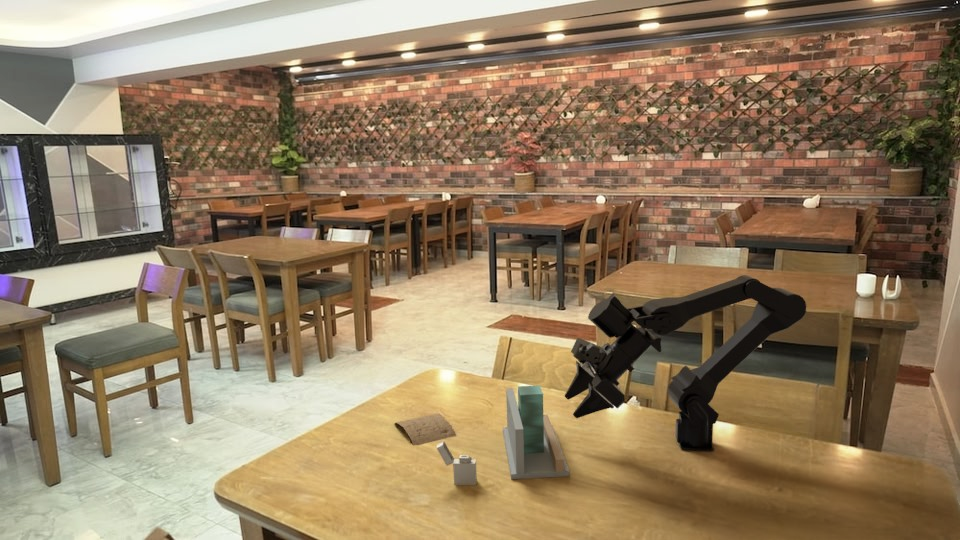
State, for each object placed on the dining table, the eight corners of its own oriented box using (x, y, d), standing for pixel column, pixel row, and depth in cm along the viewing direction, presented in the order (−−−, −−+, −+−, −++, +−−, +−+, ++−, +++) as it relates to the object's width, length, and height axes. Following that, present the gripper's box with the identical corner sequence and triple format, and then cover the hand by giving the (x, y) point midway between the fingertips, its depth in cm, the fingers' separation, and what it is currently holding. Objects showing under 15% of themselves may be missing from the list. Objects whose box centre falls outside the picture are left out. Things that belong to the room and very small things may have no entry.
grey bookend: (552, 429, 135) (551, 386, 133) (569, 476, 115) (568, 426, 113) (502, 431, 134) (501, 388, 132) (511, 479, 115) (509, 429, 113)
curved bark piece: (458, 439, 133) (457, 427, 132) (415, 450, 128) (414, 439, 128) (431, 415, 145) (431, 404, 145) (391, 425, 141) (391, 414, 140)
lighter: (476, 479, 115) (475, 440, 113) (476, 484, 113) (474, 445, 112) (439, 479, 115) (437, 440, 114) (438, 484, 114) (436, 444, 112)
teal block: (540, 442, 127) (539, 385, 124) (544, 452, 122) (543, 393, 120) (519, 443, 126) (517, 386, 124) (521, 453, 122) (520, 395, 120)
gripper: (585, 313, 129) (535, 366, 131) (607, 339, 111) (548, 400, 113) (622, 347, 131) (572, 398, 133) (649, 378, 113) (591, 437, 114)
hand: (570, 406), depth 123 cm, fingers open, 9 cm apart
